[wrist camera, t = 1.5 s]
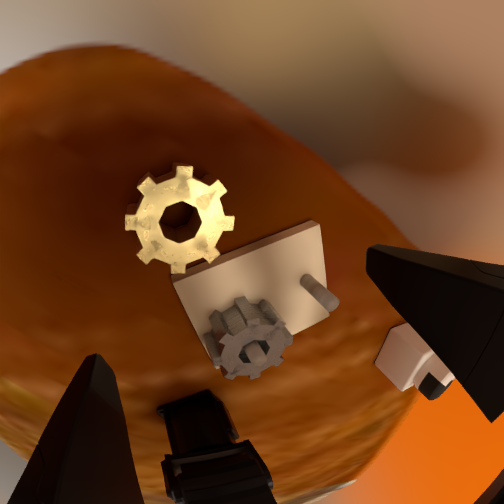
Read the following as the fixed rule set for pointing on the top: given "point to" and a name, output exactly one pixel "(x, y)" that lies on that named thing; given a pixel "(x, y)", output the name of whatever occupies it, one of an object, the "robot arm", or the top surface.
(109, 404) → the robot arm
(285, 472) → the top surface
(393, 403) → the top surface
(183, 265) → the brass gear
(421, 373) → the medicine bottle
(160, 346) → the top surface
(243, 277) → the birch gear board
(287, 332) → the grey gear
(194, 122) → the top surface
